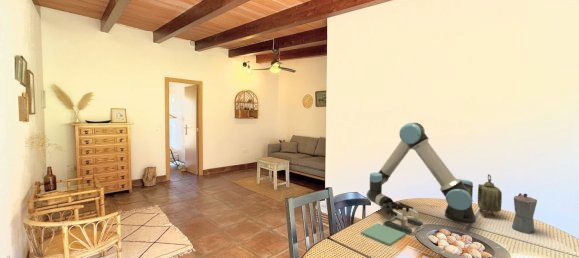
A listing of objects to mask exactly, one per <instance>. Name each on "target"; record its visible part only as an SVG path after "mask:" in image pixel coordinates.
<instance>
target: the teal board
mask: <svg viewBox="0 0 579 258" xmlns="http://www.w3.org/2000/svg"><path fill="white" fill-rule="evenodd" d="M362 234H363V235H362ZM360 235H362V236H364V235H365V237H367V238H369V239H372V240H373V241H376V242H379V243H381V244H383V245H385V246H387V247H390V246H392V245H394V244H395V243H397V242H398V241H399V240H401V239H403V238H405V237H406V236H407V234H406V233H403V232H401V231H398V230H395V229H392V228H390V227H387V226H384V225H383V224H381V223H375V224H374V225H371V226H369V227H367V228H366V229H363V230H361V231H360Z"/></svg>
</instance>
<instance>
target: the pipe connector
mask: <svg viewBox="0 0 579 258" xmlns="http://www.w3.org/2000/svg"><path fill="white" fill-rule="evenodd" d="M401 211H402V212H400V213H401V214H402V221H401V226H404V227H407V226H406V225H407V224H408V223H407V222H408V220H407V219H412V220H414V219H415V216H413V215H407V212H406V208H403V210H401ZM393 218H398V217H396V216H394V215H393Z"/></svg>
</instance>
